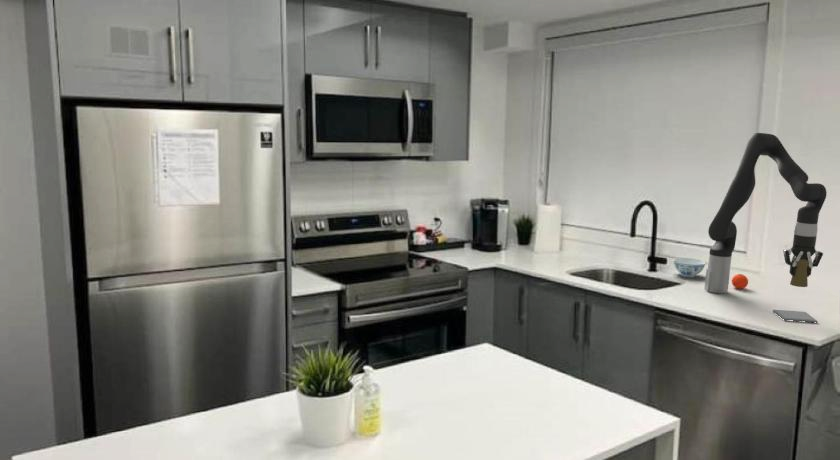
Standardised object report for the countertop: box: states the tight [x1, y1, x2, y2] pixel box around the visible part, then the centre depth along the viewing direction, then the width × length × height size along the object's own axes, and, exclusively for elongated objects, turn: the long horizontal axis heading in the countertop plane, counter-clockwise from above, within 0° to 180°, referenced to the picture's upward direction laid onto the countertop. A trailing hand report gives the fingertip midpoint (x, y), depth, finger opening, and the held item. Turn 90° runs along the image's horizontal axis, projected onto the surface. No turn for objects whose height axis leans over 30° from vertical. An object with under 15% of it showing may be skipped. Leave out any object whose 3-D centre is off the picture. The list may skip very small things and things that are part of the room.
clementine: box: [731, 273, 749, 290], centre depth 286 cm, size 8×7×7 cm
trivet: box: [772, 309, 818, 324], centre depth 244 cm, size 12×12×1 cm
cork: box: [789, 259, 809, 288], centre depth 241 cm, size 6×6×11 cm
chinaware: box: [672, 257, 707, 278], centre depth 308 cm, size 15×15×8 cm
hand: (799, 275), depth 241 cm, fingers closed on cork, 4 cm apart
